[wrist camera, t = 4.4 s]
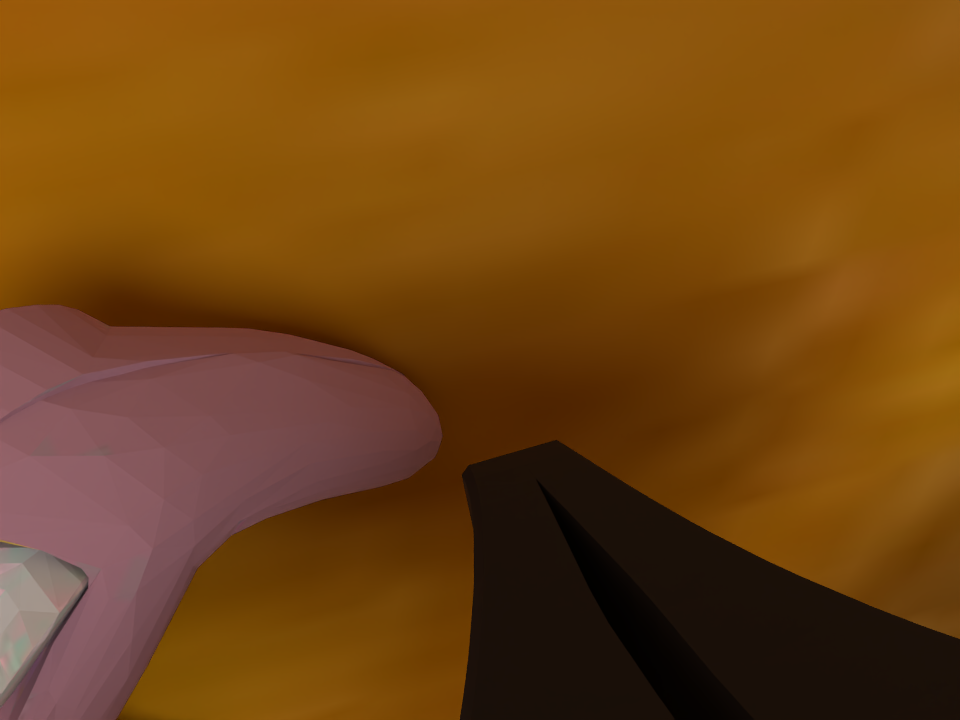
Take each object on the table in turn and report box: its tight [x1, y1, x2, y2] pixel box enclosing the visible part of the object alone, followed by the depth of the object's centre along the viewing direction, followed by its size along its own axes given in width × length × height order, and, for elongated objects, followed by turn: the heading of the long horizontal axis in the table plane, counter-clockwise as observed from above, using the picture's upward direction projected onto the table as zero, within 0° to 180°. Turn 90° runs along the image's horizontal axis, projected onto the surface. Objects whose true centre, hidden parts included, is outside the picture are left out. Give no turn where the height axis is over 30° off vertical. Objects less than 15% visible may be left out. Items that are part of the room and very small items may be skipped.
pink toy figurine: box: [0, 305, 443, 720], centre depth 8 cm, size 10×5×7 cm, turn 149°
